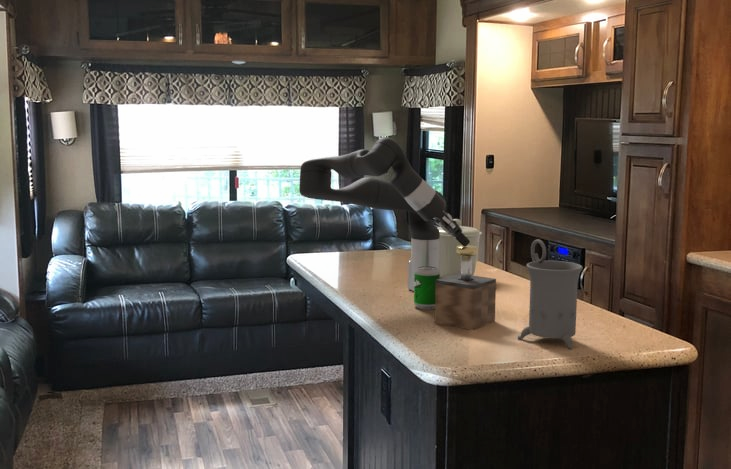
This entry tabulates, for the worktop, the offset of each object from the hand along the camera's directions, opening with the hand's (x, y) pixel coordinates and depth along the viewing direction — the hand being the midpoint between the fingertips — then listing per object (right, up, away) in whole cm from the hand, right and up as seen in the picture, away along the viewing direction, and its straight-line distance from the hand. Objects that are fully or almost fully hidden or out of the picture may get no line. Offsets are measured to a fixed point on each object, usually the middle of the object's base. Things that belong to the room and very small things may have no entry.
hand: (466, 244), depth 214 cm
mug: (+19, -24, -14) cm, 34 cm away
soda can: (-9, -19, +20) cm, 29 cm away
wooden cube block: (0, -22, +3) cm, 22 cm away
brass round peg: (0, -13, +2) cm, 13 cm away
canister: (+4, -13, +65) cm, 66 cm away
